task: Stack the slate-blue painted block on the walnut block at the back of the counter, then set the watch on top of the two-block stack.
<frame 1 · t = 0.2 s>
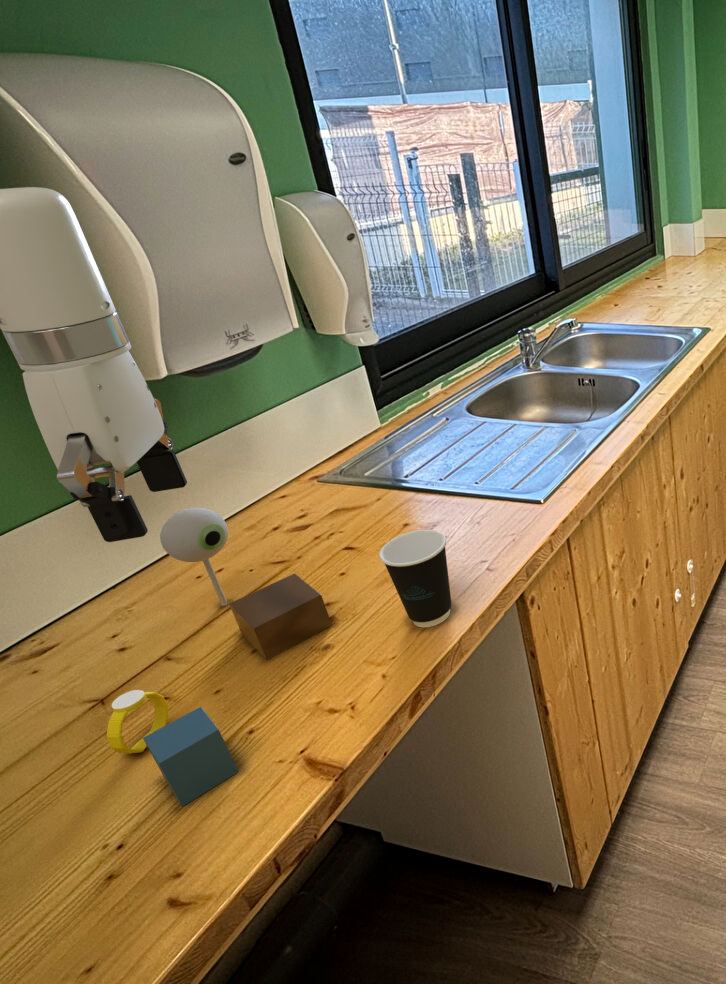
hand: (149, 511, 67), 26 cm above the countertop, tool pointing down, fingers open, 9 cm apart
watch: (149, 742, 75), on the countertop
top block: (202, 776, 71), on the countertop
dixie cup: (432, 616, 93), on the countertop
lollipop: (225, 605, 97), on the countertop
base block: (287, 629, 91), on the countertop
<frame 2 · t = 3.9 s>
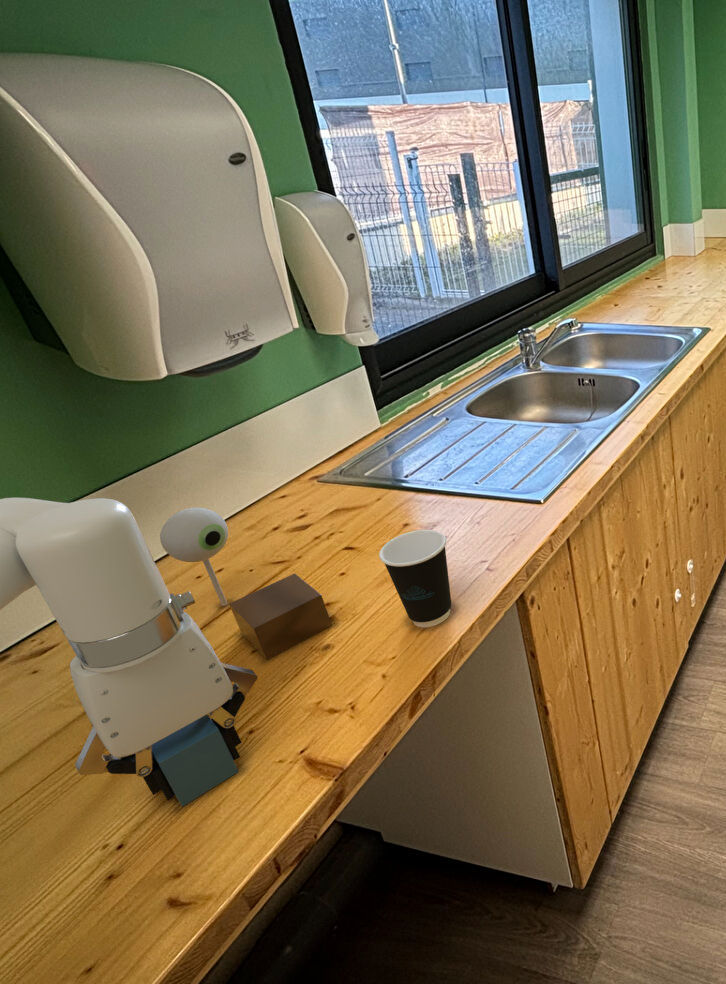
hand: (199, 770, 71), 1 cm above the countertop, tool pointing down, fingers closed on top block, 5 cm apart
top block: (202, 776, 71), on the countertop, touching gripper
everything else where it was.
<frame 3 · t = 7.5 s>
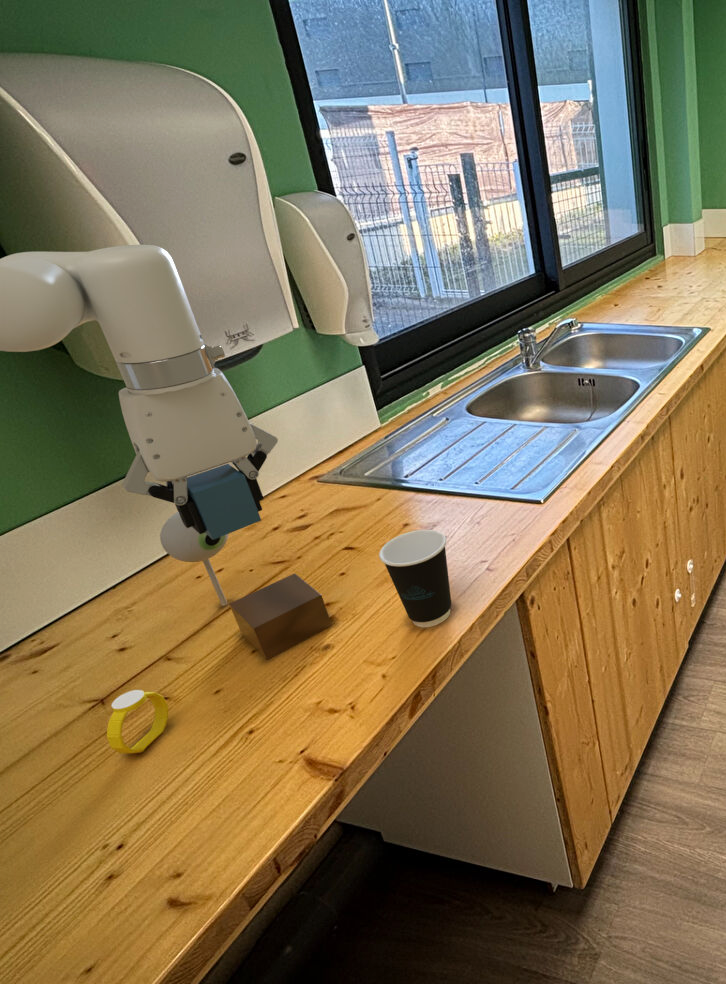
hand: (227, 517, 80), 19 cm above the countertop, tool pointing down, fingers closed on top block, 5 cm apart
top block: (229, 523, 81), point 18 cm above the countertop, touching gripper
everything else where it was.
when the fingers open (6 cm above the countertop, at t = 11.0 s): top block stays where it is, resting on base block.
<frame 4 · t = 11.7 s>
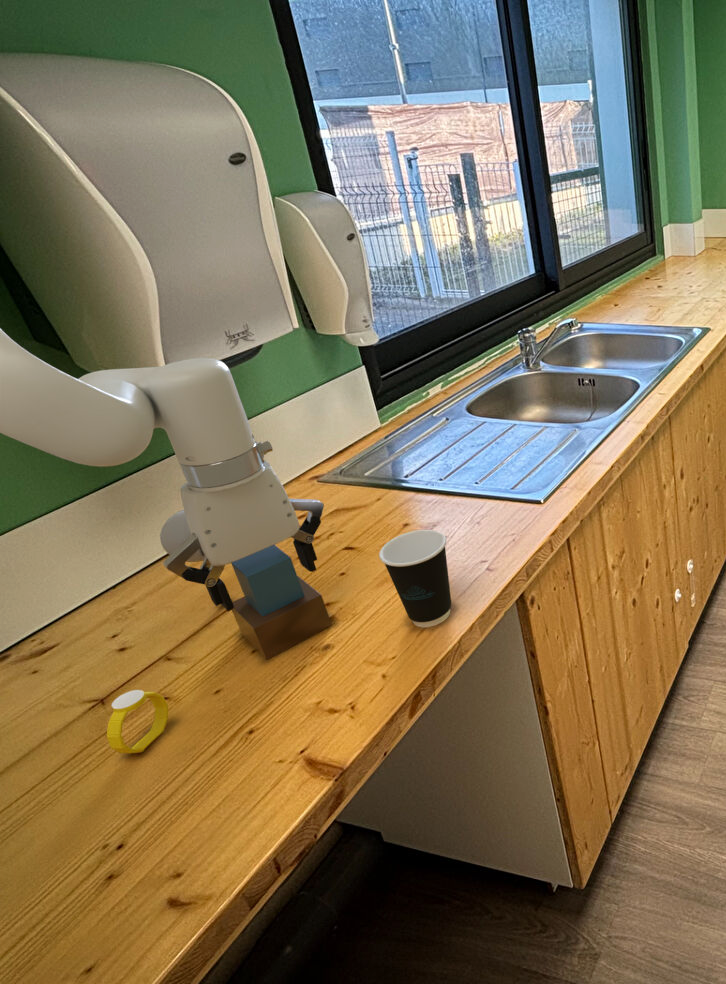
hand: (269, 586, 88), 7 cm above the countertop, tool pointing down, fingers open, 9 cm apart
top block: (276, 599, 89), point 5 cm above the countertop, touching base block
base block: (287, 629, 91), on the countertop, touching top block
everything else where it was.
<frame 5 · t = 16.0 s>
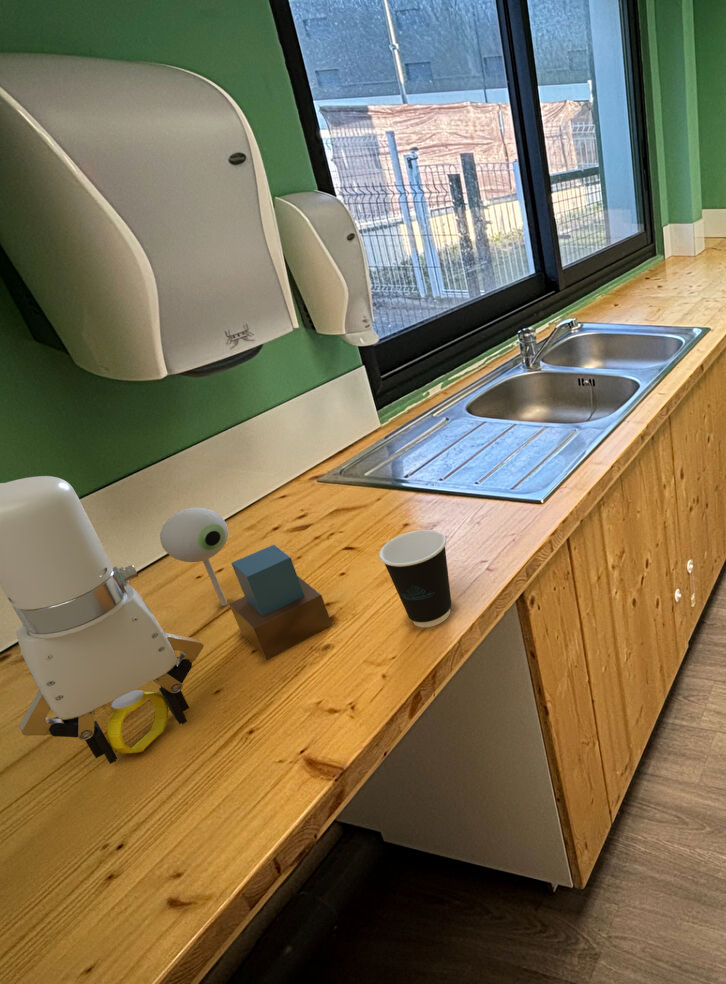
hand: (145, 734, 75), 1 cm above the countertop, tool pointing down, fingers closed on watch, 5 cm apart
watch: (149, 742, 75), on the countertop, touching gripper
everything else where it was.
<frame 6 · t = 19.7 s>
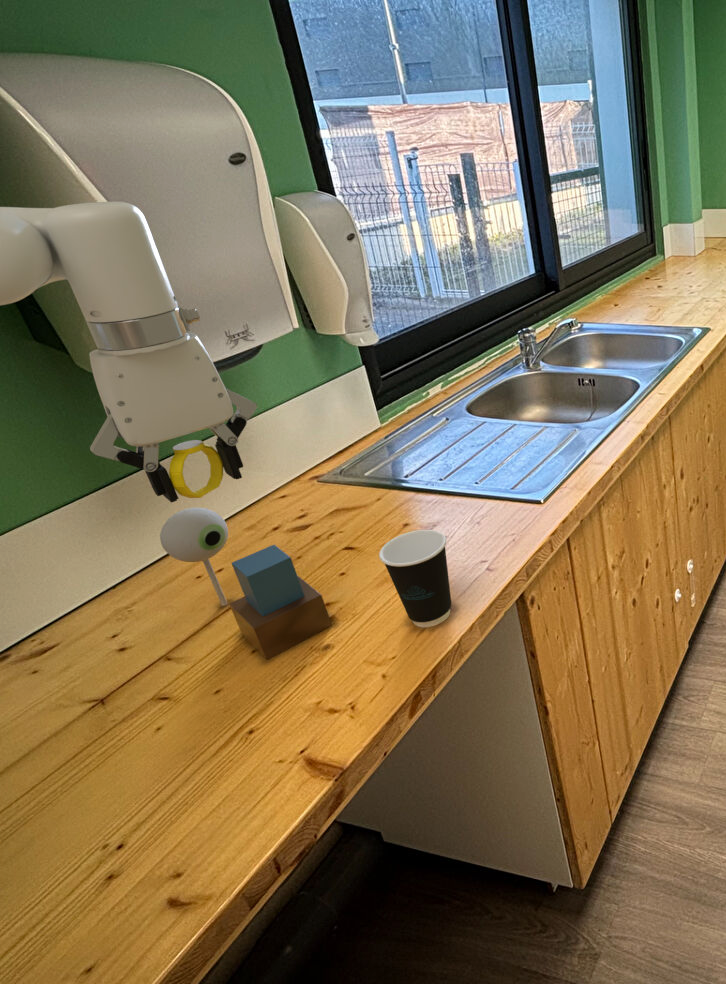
hand: (202, 485, 79), 23 cm above the countertop, tool pointing down, fingers closed on watch, 5 cm apart
watch: (206, 494, 79), point 22 cm above the countertop, touching gripper
everything else where it was.
when the fingers open (12 cm above the countertop, at t = 23.4 s): watch stays where it is, resting on top block.
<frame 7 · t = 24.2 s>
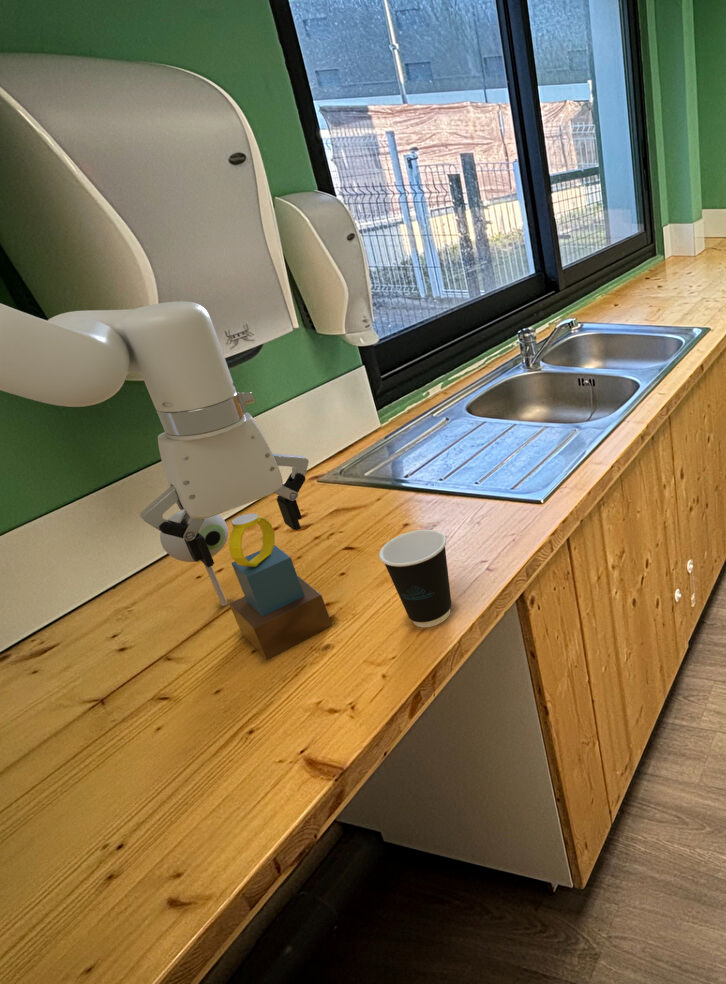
hand: (251, 543, 85), 13 cm above the countertop, tool pointing down, fingers open, 9 cm apart
watch: (260, 561, 87), point 11 cm above the countertop, touching top block
top block: (276, 599, 89), point 5 cm above the countertop, touching base block, watch
everything else where it was.
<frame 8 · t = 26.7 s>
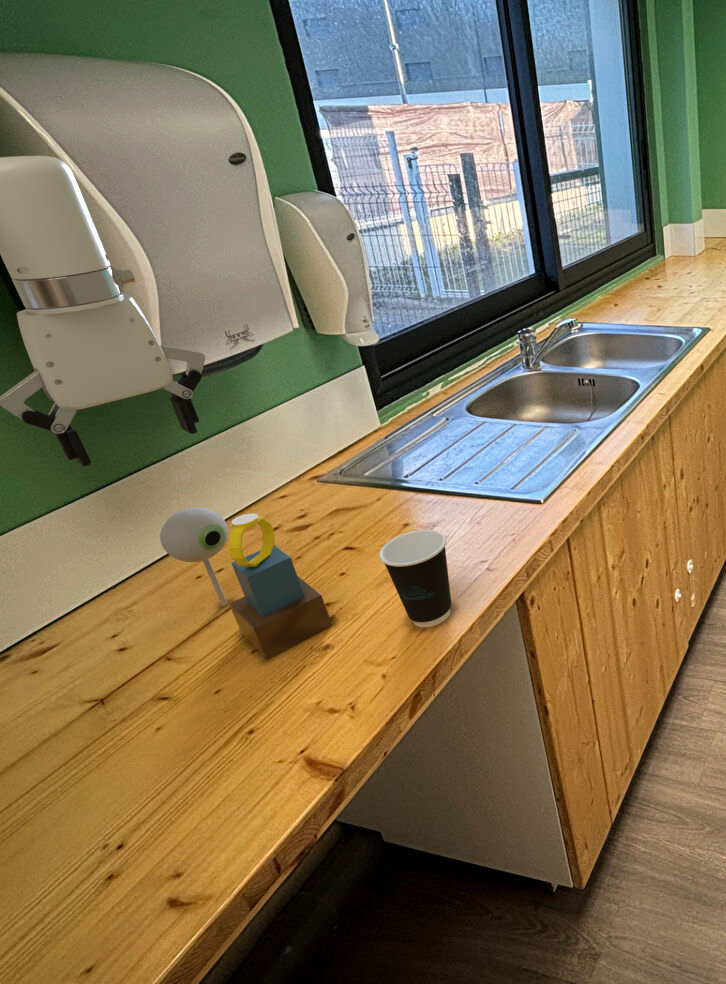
hand: (139, 446, 77), 28 cm above the countertop, tool pointing down, fingers open, 9 cm apart
nothing on the countertop moved.
at the end: top block 0.1 cm off-centre on the base block, point 5.0 cm above the base block's base; watch 0.1 cm off-centre on the base block, point 10.8 cm above the base block's base; watch tilted 0° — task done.
